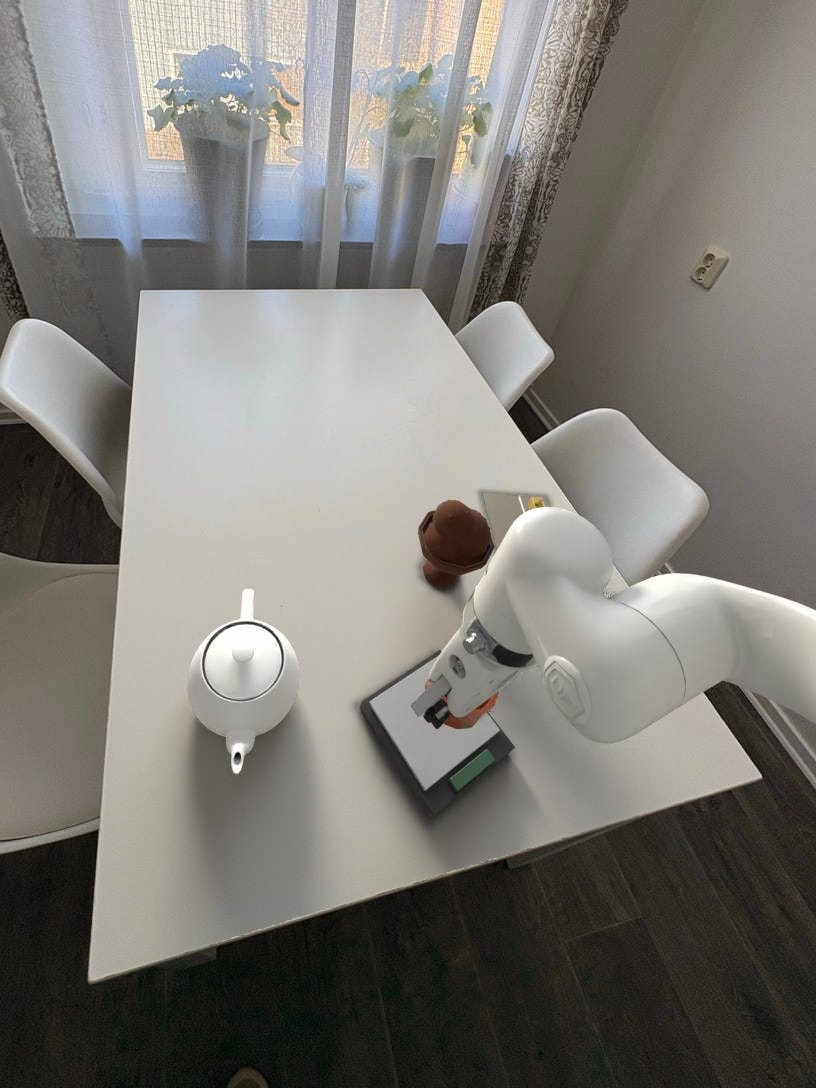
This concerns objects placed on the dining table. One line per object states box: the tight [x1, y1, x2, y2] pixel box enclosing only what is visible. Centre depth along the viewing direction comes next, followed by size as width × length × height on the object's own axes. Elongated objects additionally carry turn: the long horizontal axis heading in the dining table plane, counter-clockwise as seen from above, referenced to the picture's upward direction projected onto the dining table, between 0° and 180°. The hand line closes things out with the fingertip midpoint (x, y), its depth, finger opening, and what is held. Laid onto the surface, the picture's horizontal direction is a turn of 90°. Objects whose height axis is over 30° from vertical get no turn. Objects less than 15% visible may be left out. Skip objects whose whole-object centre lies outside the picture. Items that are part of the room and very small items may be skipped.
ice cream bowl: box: [417, 499, 495, 589], centre depth 78 cm, size 11×11×15 cm
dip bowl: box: [425, 677, 500, 729], centre depth 57 cm, size 7×7×5 cm
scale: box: [359, 649, 516, 820], centre depth 65 cm, size 14×13×3 cm
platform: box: [482, 492, 550, 550], centre depth 88 cm, size 12×18×7 cm, turn 1°
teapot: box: [186, 588, 301, 775], centre depth 63 cm, size 22×14×11 cm, turn 4°
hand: (455, 695), depth 59 cm, fingers closed on dip bowl, 7 cm apart
